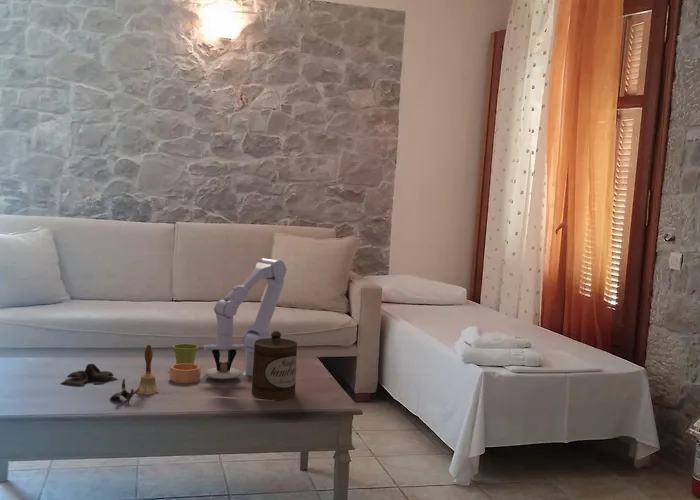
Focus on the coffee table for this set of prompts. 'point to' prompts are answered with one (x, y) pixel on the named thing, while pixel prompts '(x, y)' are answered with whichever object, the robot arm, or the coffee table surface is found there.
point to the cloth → (89, 377)
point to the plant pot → (185, 353)
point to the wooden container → (274, 368)
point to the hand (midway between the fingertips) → (223, 370)
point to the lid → (223, 371)
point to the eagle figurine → (125, 392)
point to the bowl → (185, 373)
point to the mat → (222, 380)
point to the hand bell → (148, 376)
